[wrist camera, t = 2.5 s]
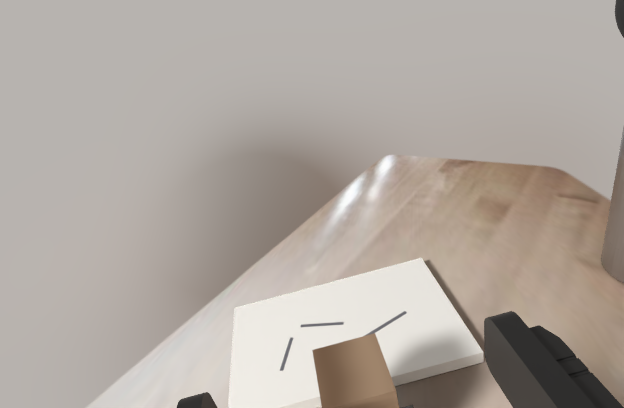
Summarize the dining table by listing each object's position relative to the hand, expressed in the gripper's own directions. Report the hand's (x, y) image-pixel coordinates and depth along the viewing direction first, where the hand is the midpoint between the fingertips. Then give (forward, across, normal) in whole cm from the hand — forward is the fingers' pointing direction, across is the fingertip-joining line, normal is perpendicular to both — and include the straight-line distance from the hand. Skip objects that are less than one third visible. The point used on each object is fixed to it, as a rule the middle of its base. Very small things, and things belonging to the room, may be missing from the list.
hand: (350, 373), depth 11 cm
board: (+25, 0, +26) cm, 36 cm away
